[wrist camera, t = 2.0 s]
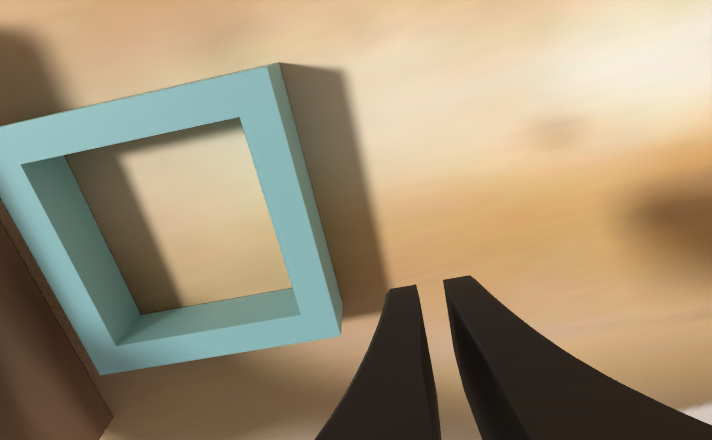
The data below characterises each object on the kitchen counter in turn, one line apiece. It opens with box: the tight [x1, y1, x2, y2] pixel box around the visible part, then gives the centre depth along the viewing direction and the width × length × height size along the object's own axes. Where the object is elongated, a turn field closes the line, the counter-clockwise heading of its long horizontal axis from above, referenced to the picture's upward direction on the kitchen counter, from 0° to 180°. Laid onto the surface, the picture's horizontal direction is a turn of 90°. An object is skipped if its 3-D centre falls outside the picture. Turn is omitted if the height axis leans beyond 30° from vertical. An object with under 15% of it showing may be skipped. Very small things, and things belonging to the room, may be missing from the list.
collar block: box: [0, 62, 343, 376], centre depth 20 cm, size 12×12×2 cm
